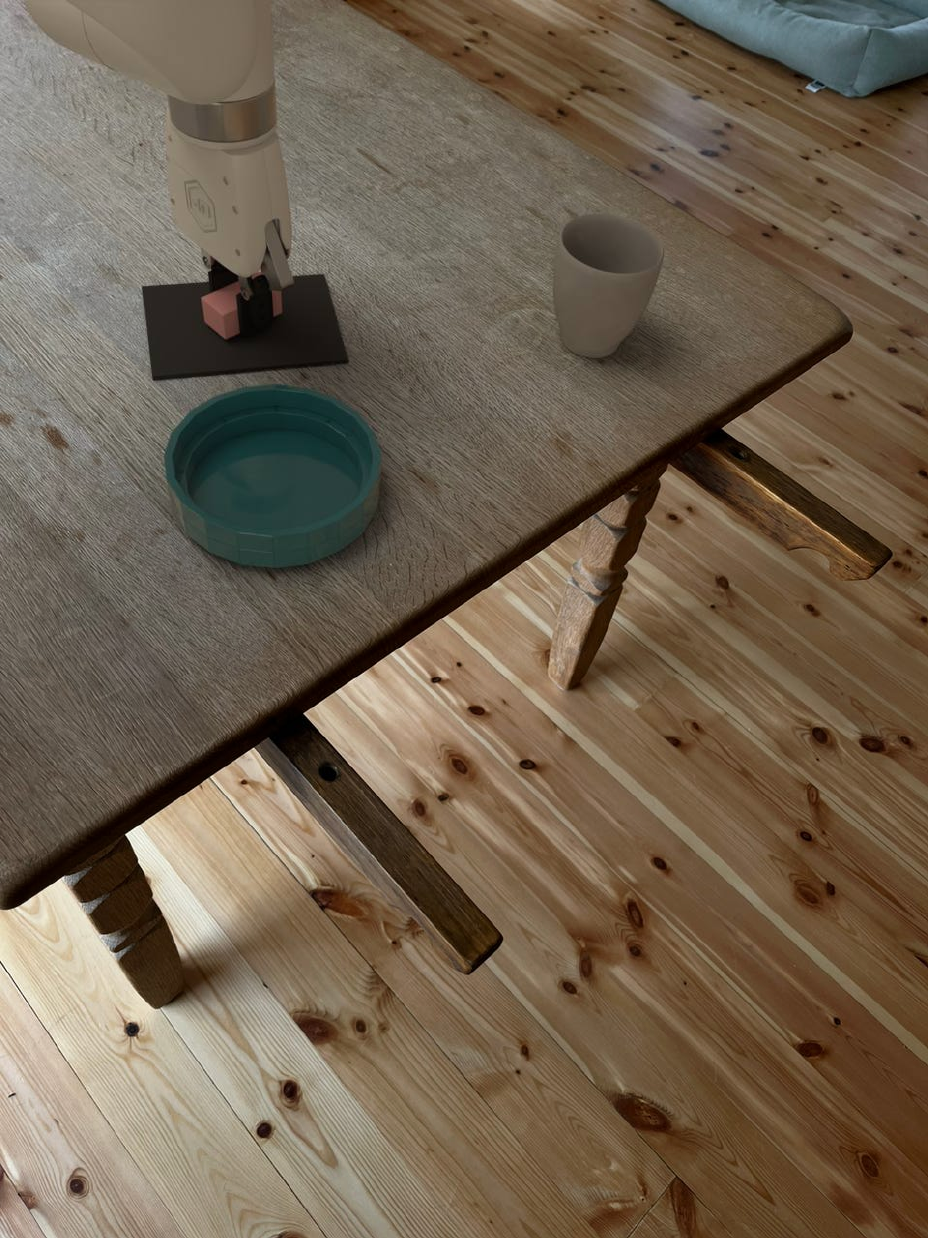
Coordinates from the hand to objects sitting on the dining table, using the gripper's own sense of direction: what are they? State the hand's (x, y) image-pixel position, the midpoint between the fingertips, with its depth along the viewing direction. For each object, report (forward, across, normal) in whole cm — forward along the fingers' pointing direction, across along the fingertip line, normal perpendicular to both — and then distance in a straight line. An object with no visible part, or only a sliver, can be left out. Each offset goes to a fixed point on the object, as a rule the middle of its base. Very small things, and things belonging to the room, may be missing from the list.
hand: (243, 316), depth 86 cm
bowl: (+1, +17, -10) cm, 20 cm away
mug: (+1, +18, +24) cm, 30 cm away
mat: (+1, 0, 0) cm, 1 cm away
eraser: (0, 0, 0) cm, 0 cm away
